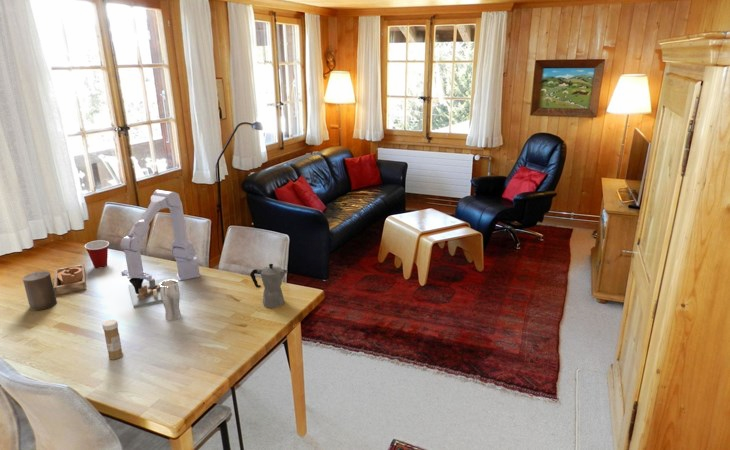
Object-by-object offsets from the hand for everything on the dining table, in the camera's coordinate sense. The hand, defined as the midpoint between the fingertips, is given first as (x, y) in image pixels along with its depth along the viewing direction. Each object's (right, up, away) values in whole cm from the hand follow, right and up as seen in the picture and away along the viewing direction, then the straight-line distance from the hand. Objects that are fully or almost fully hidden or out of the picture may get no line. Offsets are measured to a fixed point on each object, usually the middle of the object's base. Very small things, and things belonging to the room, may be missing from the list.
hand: (139, 292), depth 208 cm
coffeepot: (+57, -4, -2) cm, 57 cm away
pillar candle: (-39, -5, -3) cm, 39 cm away
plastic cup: (-36, +8, +36) cm, 51 cm away
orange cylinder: (-40, +2, +18) cm, 44 cm away
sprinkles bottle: (+10, -17, -39) cm, 43 cm away
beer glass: (+20, -8, -13) cm, 25 cm away
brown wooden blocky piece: (+2, 0, +4) cm, 5 cm away
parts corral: (-40, +2, +18) cm, 44 cm away
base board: (+3, -1, +8) cm, 8 cm away
